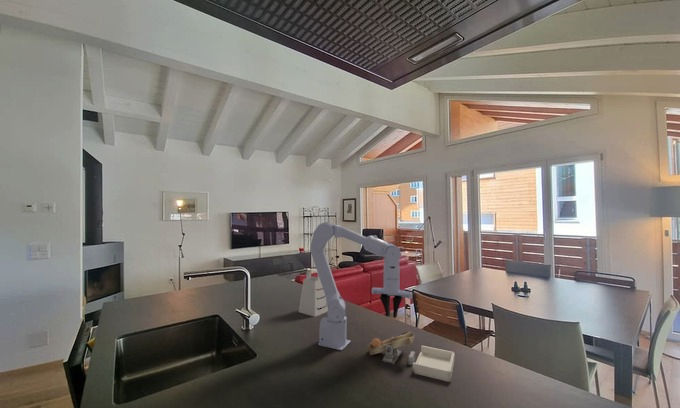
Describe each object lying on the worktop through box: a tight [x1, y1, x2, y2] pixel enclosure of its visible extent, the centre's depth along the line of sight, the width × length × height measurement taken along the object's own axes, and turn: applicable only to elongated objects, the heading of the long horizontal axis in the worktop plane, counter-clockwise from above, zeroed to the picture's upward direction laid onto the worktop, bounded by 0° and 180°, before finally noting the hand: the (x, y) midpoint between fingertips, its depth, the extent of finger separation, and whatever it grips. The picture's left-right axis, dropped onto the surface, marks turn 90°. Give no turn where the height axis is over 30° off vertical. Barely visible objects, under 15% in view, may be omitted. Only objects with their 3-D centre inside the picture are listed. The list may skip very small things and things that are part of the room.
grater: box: [298, 268, 328, 318], centre depth 140 cm, size 10×10×20 cm
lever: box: [366, 330, 415, 356], centre depth 98 cm, size 15×11×3 cm
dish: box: [412, 345, 456, 383], centre depth 89 cm, size 10×13×3 cm
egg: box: [371, 337, 381, 348], centre depth 97 cm, size 3×3×3 cm
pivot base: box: [381, 336, 416, 366], centre depth 94 cm, size 9×8×5 cm
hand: (391, 316), depth 103 cm, fingers open, 2 cm apart
